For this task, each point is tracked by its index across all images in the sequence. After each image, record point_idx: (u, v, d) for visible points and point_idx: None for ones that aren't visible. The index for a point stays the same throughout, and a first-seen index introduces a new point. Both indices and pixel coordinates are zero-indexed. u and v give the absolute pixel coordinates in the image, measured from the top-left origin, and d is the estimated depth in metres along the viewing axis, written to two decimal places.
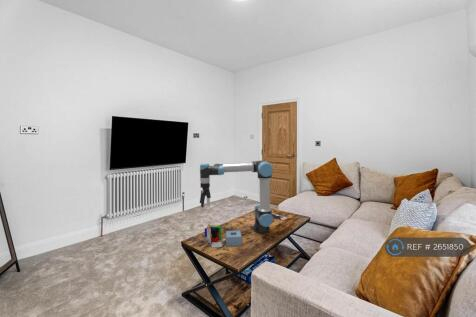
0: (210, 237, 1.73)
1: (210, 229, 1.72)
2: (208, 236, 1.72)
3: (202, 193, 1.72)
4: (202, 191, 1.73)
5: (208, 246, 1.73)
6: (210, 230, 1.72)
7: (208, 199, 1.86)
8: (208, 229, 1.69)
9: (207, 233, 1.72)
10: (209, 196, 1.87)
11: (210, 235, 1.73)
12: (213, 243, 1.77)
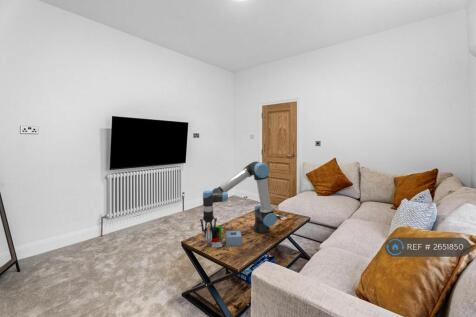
0: (210, 237, 1.73)
1: (210, 229, 1.72)
2: (208, 236, 1.72)
3: (201, 222, 1.72)
4: None
5: (208, 246, 1.73)
6: (210, 230, 1.72)
7: None
8: (208, 229, 1.69)
9: (207, 233, 1.72)
10: (212, 229, 1.72)
11: (210, 235, 1.73)
12: (213, 243, 1.77)
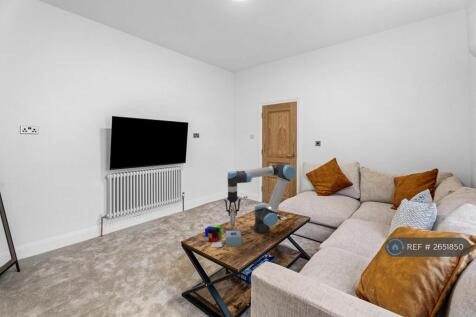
0: (234, 217, 1.76)
1: (234, 209, 1.76)
2: (232, 216, 1.75)
3: (225, 202, 1.75)
4: (224, 200, 1.75)
5: (232, 226, 1.76)
6: (234, 210, 1.76)
7: None
8: (233, 209, 1.72)
9: (231, 213, 1.75)
10: (236, 210, 1.75)
11: (234, 215, 1.76)
12: (213, 243, 1.77)
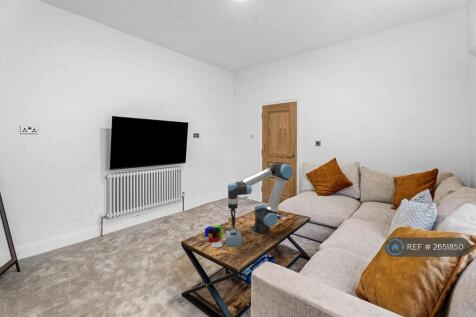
0: None
1: None
2: None
3: (233, 216, 1.71)
4: (233, 215, 1.70)
5: None
6: None
7: None
8: None
9: None
10: None
11: None
12: (213, 243, 1.77)
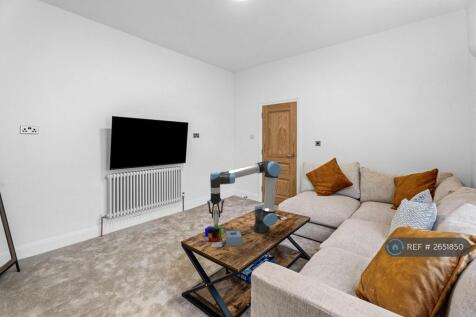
0: (217, 219, 1.72)
1: (217, 211, 1.72)
2: (215, 218, 1.72)
3: (208, 204, 1.71)
4: None
5: (215, 228, 1.72)
6: (217, 212, 1.72)
7: None
8: (215, 210, 1.69)
9: (214, 215, 1.72)
10: (219, 211, 1.72)
11: (217, 217, 1.72)
12: (213, 243, 1.77)
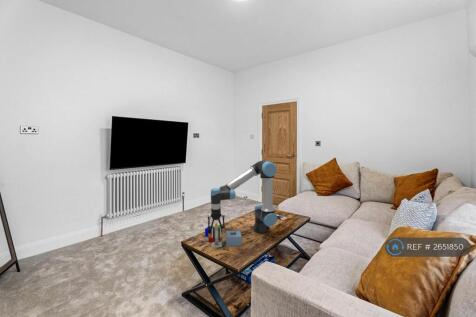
0: (218, 236, 1.74)
1: None
2: (216, 235, 1.73)
3: (208, 219, 1.73)
4: (207, 217, 1.72)
5: None
6: None
7: (220, 230, 1.74)
8: (216, 228, 1.70)
9: (215, 232, 1.73)
10: (221, 227, 1.73)
11: (218, 234, 1.74)
12: (213, 243, 1.77)
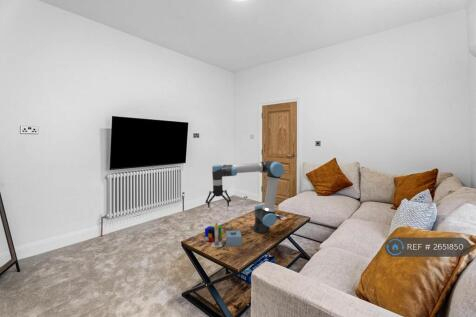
0: (218, 236, 1.74)
1: None
2: (216, 235, 1.73)
3: None
4: (209, 192, 1.73)
5: None
6: None
7: None
8: (216, 228, 1.70)
9: (215, 232, 1.73)
10: (227, 200, 1.74)
11: (218, 234, 1.74)
12: (213, 243, 1.77)
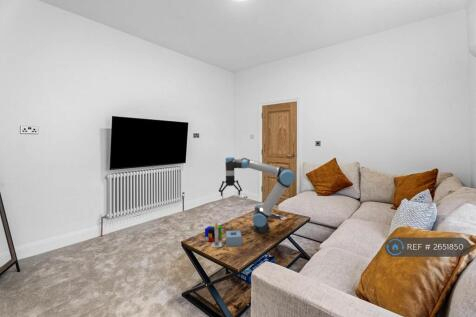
0: (218, 236, 1.74)
1: None
2: (216, 235, 1.73)
3: None
4: (222, 181, 1.89)
5: None
6: None
7: None
8: (216, 228, 1.70)
9: (215, 232, 1.73)
10: (238, 190, 1.89)
11: (218, 234, 1.74)
12: (213, 243, 1.77)
